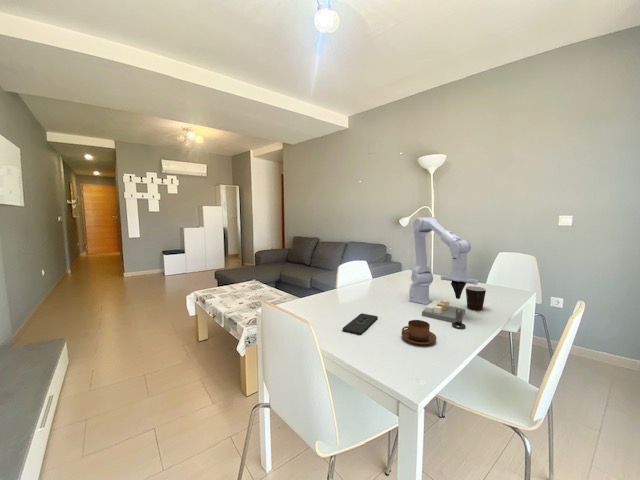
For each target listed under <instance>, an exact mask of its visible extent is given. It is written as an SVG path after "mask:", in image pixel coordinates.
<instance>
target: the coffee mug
mask: <svg viewBox="0 0 640 480" xmlns="http://www.w3.org/2000/svg"><path fill="white" fill-rule="evenodd" d="M486 292H487V288H484V287H481V286H477V285H474V286H473V285H470V286H469V285H467V286H465V295H466V296H465V297H466V306H467V307H466V309H468V310H469V311H473V310H474V312H481V310H482V311H483V309H484V308H483V307H484V303H485V297H486Z"/></svg>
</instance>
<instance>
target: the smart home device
mask: <svg viewBox="0 0 640 480" xmlns="http://www.w3.org/2000/svg"><path fill="white" fill-rule="evenodd" d="M378 319H379V317H378V316H377V315H373V314H368V313H364V312H363V313H359V314H358V315H357V316H356V317H355V318H353V319H352V320H351V321H350V322H348V323H347V324H346V325H344V326H343V327H342V332H343V333H346V334H352V335H357V336H362V335H364V334H365V333H366V331H367V330H369V329H370V328H371V326H373V325H374V323H376V322H377V320H378Z"/></svg>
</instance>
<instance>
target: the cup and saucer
mask: <svg viewBox="0 0 640 480" xmlns="http://www.w3.org/2000/svg"><path fill="white" fill-rule="evenodd" d="M407 323H408V325H405V326H403V327H402V329H401V337H402V338H403V339H404V340H405V341H407V342H410V343H411V344H415V345H430V344H432V343H434V342H435V341H436V340H437V335H436V334H435V333H434V332H431V331H430V330H431V329H430V323H429V322H427V321H424V320H421V319H420V320H419V319H413V320H408V322H407Z"/></svg>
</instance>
